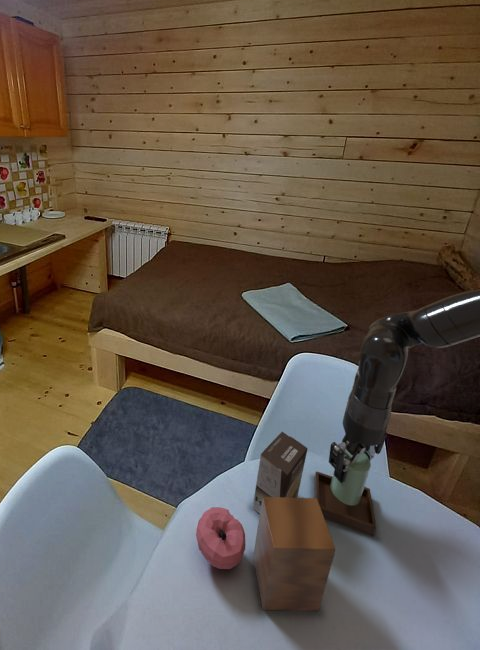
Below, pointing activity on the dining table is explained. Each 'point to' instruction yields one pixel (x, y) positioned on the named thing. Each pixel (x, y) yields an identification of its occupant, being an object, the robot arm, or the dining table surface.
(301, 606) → the stand
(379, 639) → the dining table surface
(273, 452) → the coffee box
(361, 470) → the pale green cylinder
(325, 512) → the tray
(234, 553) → the apple
